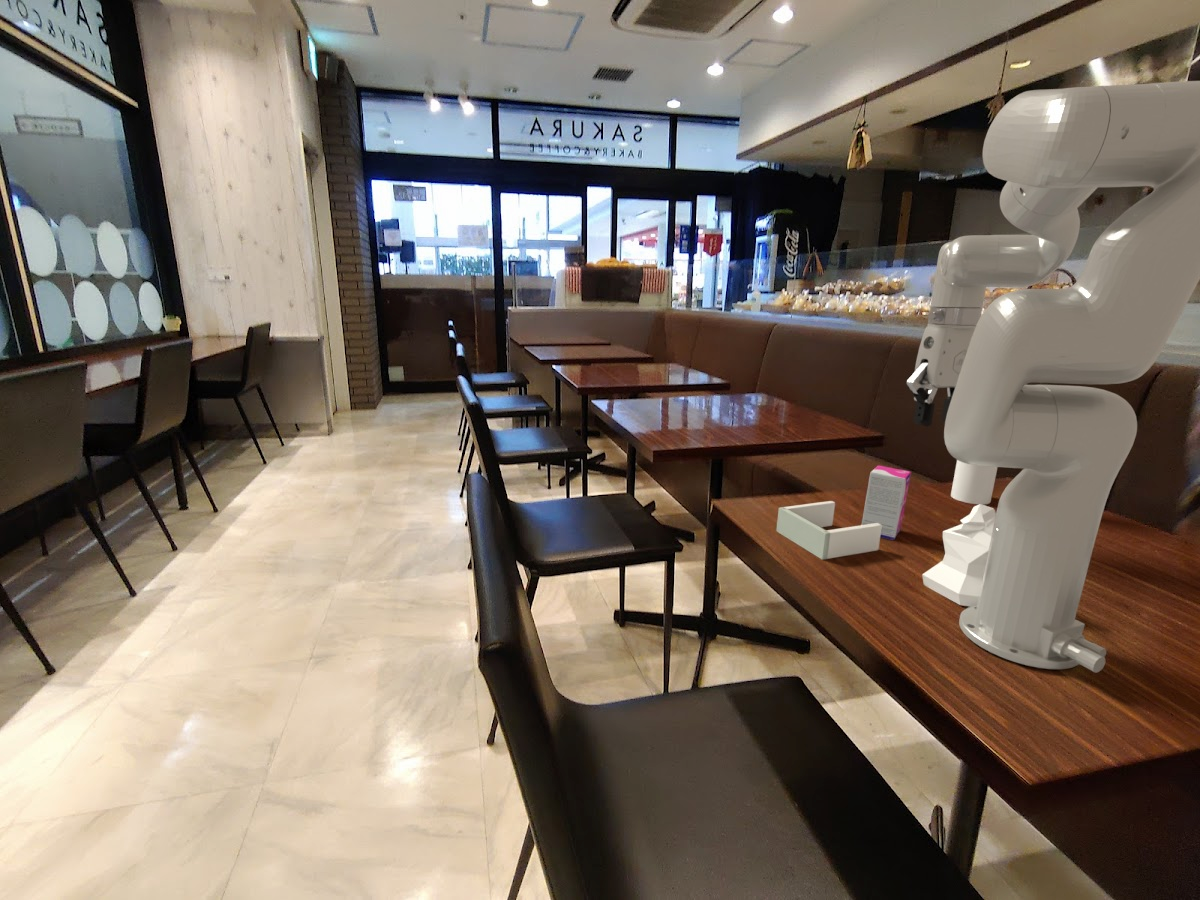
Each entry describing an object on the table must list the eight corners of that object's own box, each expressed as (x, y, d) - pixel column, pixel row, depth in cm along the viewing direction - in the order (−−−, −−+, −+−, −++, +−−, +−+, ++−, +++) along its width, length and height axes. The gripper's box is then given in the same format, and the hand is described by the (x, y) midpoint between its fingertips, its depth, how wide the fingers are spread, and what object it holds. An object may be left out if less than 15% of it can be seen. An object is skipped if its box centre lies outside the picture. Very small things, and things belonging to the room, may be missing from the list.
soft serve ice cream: (991, 638, 75) (979, 539, 72) (908, 590, 90) (896, 506, 86) (1071, 606, 77) (1063, 508, 74) (978, 564, 91) (968, 481, 88)
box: (878, 550, 97) (882, 525, 96) (822, 559, 93) (825, 533, 92) (828, 523, 108) (831, 500, 107) (776, 531, 104) (778, 507, 103)
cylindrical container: (998, 504, 119) (1023, 383, 112) (963, 504, 119) (986, 382, 112) (977, 493, 126) (999, 377, 119) (943, 492, 126) (964, 377, 119)
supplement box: (895, 541, 100) (905, 478, 97) (859, 532, 104) (867, 471, 101) (902, 530, 105) (912, 470, 102) (867, 522, 108) (875, 464, 105)
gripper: (934, 320, 91) (916, 431, 96) (1012, 319, 97) (991, 425, 102) (896, 317, 98) (881, 422, 103) (970, 317, 104) (953, 416, 108)
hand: (936, 422), depth 102 cm, fingers open, 5 cm apart
